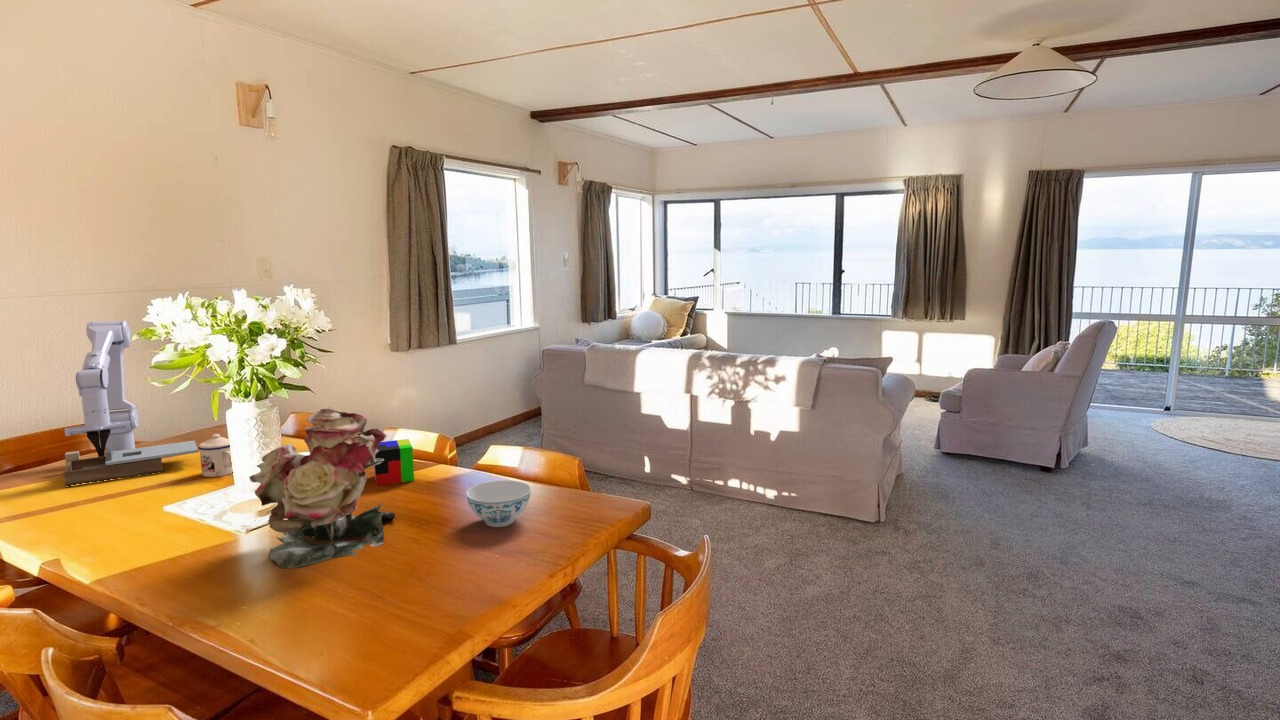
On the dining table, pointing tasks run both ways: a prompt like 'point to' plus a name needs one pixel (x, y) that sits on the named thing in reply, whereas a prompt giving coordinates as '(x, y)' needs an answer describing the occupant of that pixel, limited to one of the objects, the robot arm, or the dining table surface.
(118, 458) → the toolbox lid
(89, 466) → the toolbox
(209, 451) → the teacup with lid
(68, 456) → the wooden block
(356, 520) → the rose bouquet
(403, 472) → the puzzle toy
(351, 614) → the dining table surface
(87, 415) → the robot arm
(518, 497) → the chinaware
